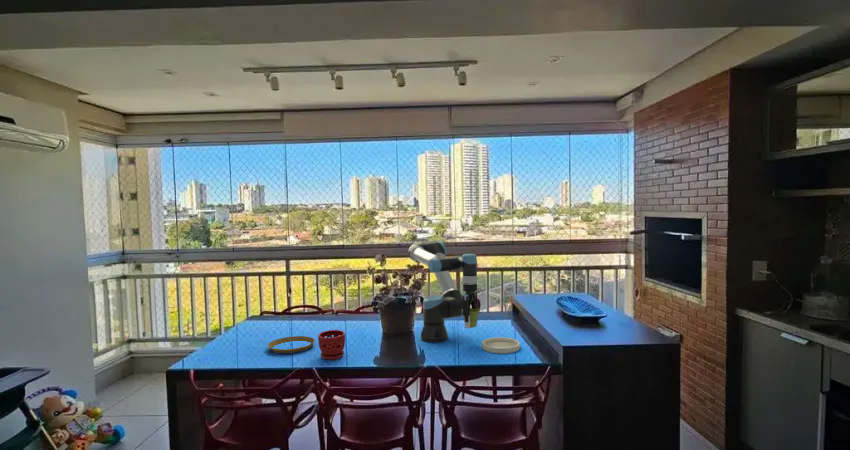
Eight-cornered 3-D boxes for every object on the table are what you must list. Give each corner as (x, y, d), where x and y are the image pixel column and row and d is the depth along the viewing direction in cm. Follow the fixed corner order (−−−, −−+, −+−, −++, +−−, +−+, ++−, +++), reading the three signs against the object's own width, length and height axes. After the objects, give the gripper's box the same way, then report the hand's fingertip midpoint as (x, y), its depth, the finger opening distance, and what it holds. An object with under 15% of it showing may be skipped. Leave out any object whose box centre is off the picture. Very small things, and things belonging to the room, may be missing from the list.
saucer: (476, 350, 223) (476, 345, 223) (489, 340, 239) (489, 335, 239) (513, 355, 213) (512, 350, 213) (524, 344, 230) (524, 339, 230)
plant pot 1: (314, 357, 220) (313, 333, 220) (336, 351, 229) (335, 328, 229) (328, 363, 211) (327, 338, 210) (351, 356, 220) (350, 332, 220)
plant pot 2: (479, 329, 229) (478, 312, 228) (460, 328, 231) (460, 312, 230) (480, 324, 238) (480, 308, 238) (463, 323, 240) (462, 307, 239)
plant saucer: (324, 344, 242) (324, 338, 242) (290, 358, 221) (290, 351, 221) (293, 339, 254) (292, 334, 254) (258, 351, 234) (258, 345, 233)
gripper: (468, 287, 222) (469, 331, 223) (484, 280, 241) (485, 321, 242) (455, 286, 226) (456, 330, 227) (471, 279, 244) (472, 320, 245)
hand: (471, 325), depth 234 cm, fingers closed on plant pot 2, 8 cm apart
